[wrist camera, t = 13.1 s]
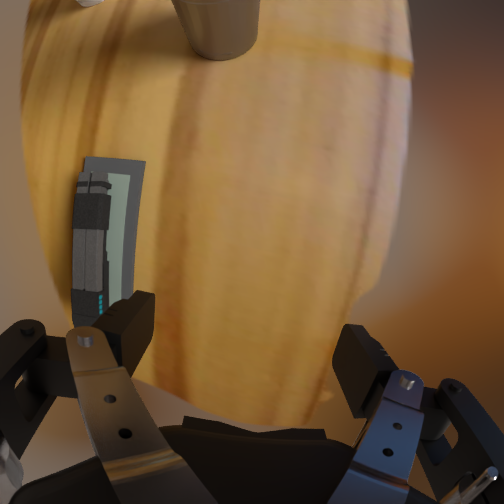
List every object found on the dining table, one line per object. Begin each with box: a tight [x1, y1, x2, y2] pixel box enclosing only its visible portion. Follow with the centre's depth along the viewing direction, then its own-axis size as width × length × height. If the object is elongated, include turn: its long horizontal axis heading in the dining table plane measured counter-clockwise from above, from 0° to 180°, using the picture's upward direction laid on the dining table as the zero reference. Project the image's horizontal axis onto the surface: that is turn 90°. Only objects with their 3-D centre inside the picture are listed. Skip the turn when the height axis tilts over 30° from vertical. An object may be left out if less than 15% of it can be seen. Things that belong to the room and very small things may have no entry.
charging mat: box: [84, 156, 146, 307], centre depth 37 cm, size 25×9×1 cm, turn 170°
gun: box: [71, 171, 112, 328], centre depth 34 cm, size 4×20×10 cm, turn 176°
